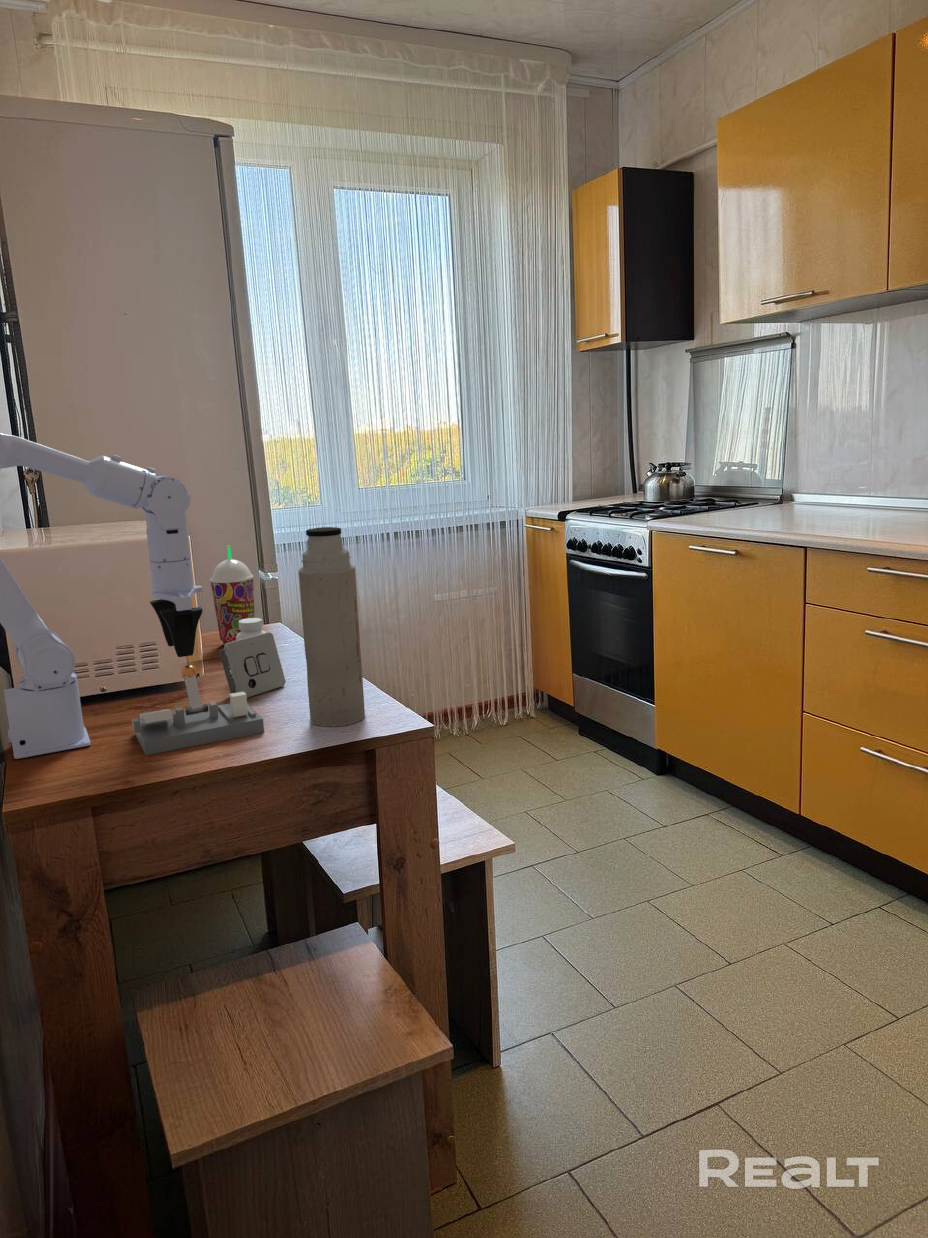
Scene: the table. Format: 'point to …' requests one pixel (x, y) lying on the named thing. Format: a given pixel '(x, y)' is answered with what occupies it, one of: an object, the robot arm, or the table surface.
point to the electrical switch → (252, 665)
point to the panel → (196, 728)
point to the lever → (193, 691)
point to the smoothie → (232, 596)
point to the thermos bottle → (331, 630)
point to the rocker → (156, 716)
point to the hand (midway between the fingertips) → (180, 650)
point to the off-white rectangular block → (238, 704)
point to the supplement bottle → (250, 628)
